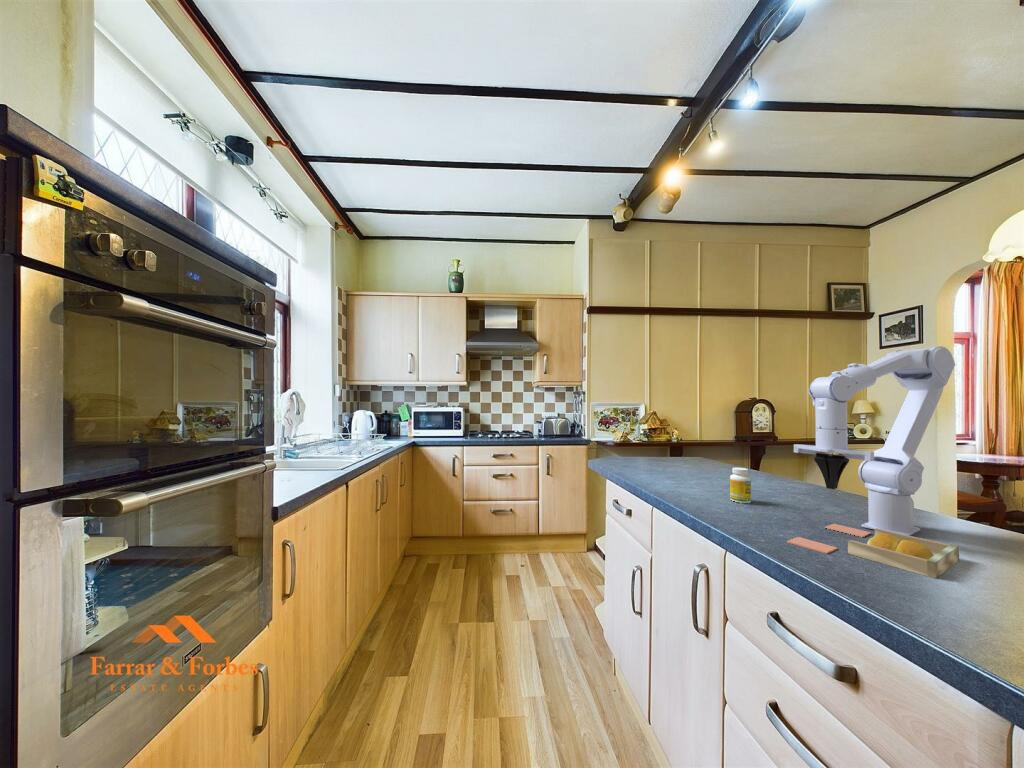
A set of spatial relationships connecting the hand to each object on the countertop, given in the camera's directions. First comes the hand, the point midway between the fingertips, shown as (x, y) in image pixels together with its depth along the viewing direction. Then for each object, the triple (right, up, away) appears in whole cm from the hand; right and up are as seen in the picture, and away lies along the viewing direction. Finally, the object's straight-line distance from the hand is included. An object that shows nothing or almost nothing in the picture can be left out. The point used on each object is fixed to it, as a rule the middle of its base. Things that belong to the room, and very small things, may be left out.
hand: (831, 488), depth 90 cm
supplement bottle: (-6, -11, +25) cm, 28 cm away
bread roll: (+2, -10, -14) cm, 17 cm away
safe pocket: (+2, -10, -14) cm, 17 cm away
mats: (-4, -10, -4) cm, 11 cm away
